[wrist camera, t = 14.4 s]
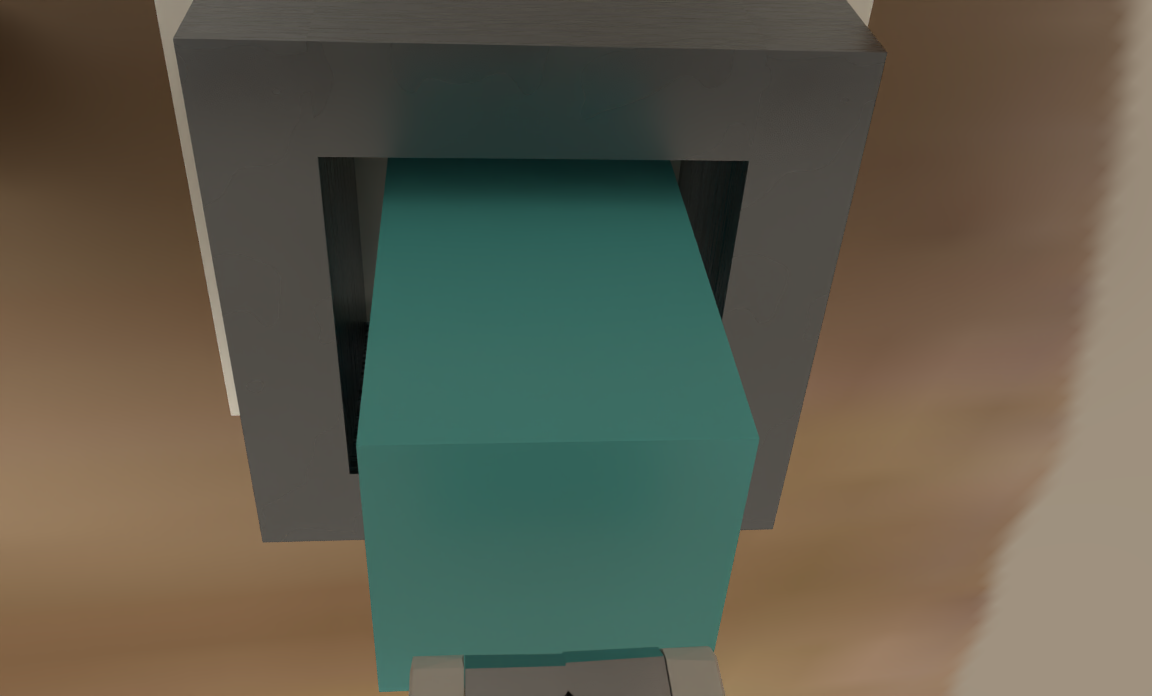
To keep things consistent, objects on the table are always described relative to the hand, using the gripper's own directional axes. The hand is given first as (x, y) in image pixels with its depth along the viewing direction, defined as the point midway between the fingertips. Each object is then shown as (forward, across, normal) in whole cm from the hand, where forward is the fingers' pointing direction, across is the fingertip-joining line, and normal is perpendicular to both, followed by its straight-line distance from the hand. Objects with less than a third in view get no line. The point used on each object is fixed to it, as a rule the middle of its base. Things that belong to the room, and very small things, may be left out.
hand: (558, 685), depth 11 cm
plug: (+10, 0, 0) cm, 10 cm away
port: (+10, 0, 0) cm, 10 cm away
